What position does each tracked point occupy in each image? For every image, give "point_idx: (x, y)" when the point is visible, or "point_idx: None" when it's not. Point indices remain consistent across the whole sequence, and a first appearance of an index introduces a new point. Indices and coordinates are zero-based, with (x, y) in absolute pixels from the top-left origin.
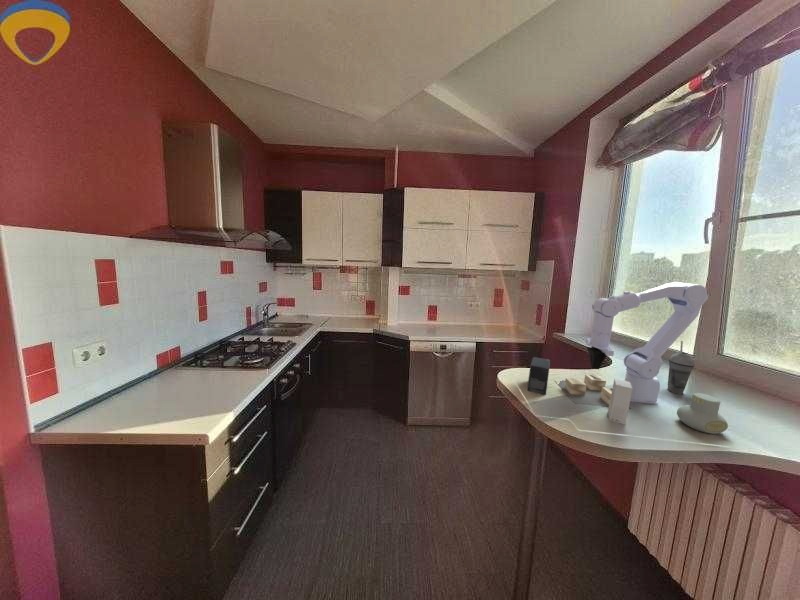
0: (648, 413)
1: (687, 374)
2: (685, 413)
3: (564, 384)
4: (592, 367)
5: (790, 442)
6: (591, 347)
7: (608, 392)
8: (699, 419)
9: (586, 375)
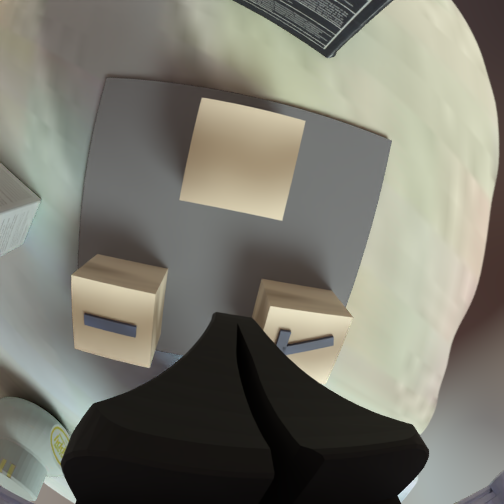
0: (73, 368)
1: None
2: (10, 416)
3: (331, 163)
4: (225, 315)
5: (58, 492)
6: (391, 501)
7: (89, 278)
8: None
9: (338, 315)
